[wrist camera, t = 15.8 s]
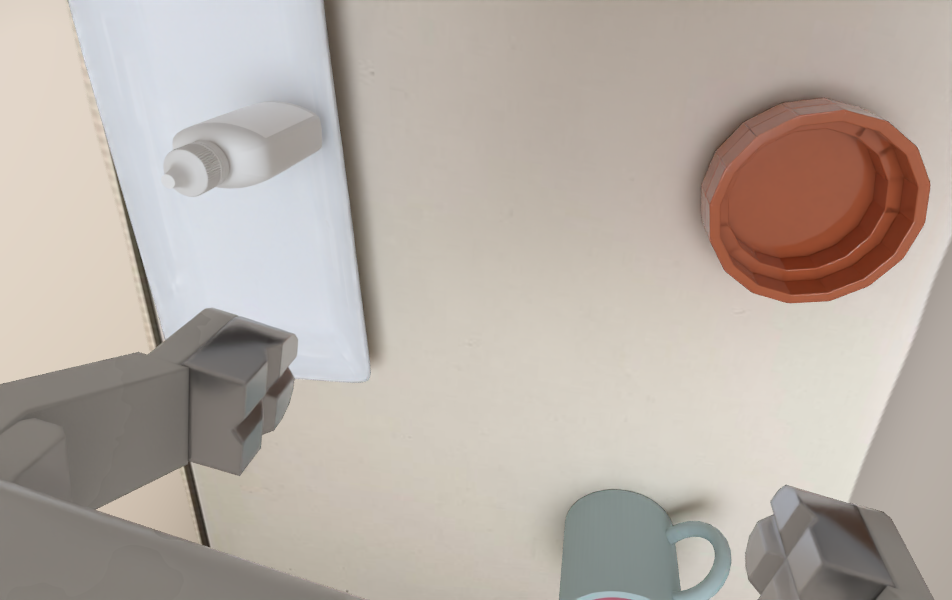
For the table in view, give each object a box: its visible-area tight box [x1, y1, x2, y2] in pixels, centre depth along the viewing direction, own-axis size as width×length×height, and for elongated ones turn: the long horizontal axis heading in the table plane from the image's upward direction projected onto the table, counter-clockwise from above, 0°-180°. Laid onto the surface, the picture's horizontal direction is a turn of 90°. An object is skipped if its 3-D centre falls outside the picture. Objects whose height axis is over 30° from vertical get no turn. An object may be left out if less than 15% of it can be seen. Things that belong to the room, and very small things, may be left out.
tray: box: [68, 0, 371, 383], centre depth 44 cm, size 17×32×4 cm, turn 2°
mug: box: [559, 490, 731, 600], centre depth 49 cm, size 14×9×10 cm
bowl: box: [701, 98, 930, 303], centre depth 38 cm, size 11×11×4 cm
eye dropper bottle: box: [161, 101, 322, 197], centre depth 35 cm, size 4×6×12 cm
